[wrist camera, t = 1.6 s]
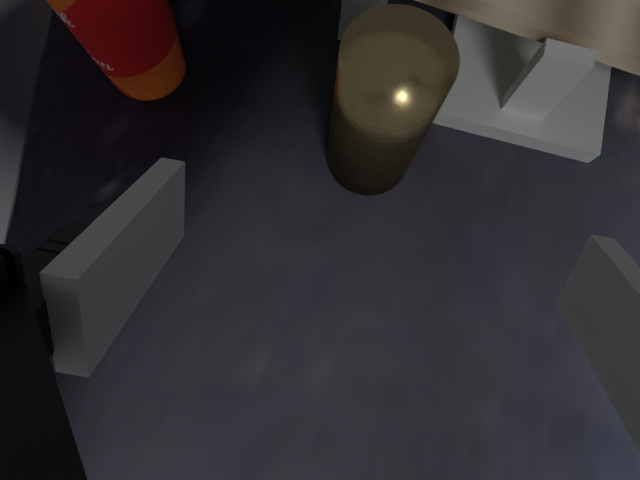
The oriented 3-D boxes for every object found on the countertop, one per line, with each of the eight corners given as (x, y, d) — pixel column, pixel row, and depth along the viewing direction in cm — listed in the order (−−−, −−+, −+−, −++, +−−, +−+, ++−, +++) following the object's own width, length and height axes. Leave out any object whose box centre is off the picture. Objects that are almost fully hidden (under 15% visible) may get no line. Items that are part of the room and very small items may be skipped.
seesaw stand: (611, -11, 40) (684, -101, 32) (588, 163, 36) (666, 107, 28) (369, -70, 41) (385, -172, 33) (321, 94, 37) (326, 22, 29)
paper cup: (104, 22, 38) (-8, -171, 24) (204, 26, 38) (149, -163, 24) (90, 114, 36) (-40, -40, 22) (195, 118, 36) (131, -33, 22)
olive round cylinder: (424, 166, 36) (484, 70, 24) (358, 211, 35) (387, 132, 23) (375, 105, 37) (410, -15, 25) (310, 146, 36) (314, 40, 24)
